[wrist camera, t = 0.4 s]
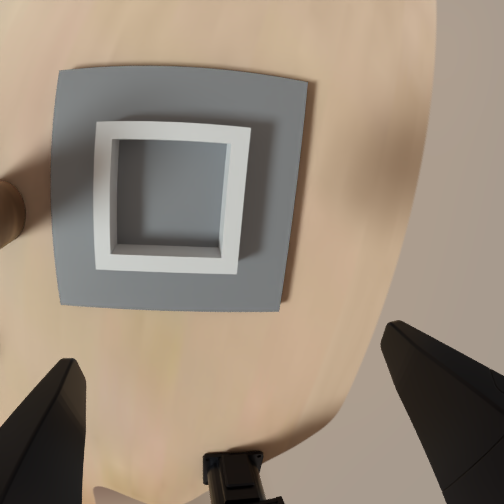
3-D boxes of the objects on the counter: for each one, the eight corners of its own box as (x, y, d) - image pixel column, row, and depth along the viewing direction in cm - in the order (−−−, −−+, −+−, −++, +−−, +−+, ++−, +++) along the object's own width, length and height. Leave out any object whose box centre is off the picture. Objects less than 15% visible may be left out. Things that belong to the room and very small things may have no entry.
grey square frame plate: (275, 305, 24) (286, 325, 21) (65, 298, 21) (51, 318, 18) (302, 84, 19) (319, 76, 16) (64, 73, 16) (47, 64, 13)
